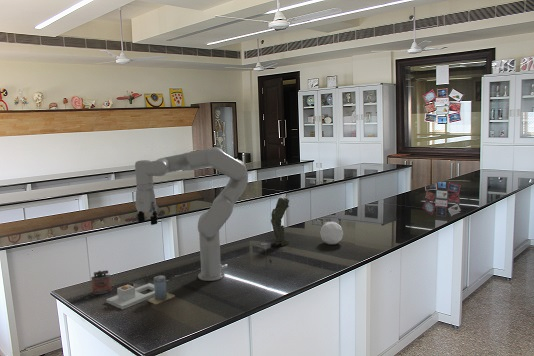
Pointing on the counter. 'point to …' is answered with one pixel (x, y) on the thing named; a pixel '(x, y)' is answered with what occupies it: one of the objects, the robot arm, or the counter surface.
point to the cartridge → (160, 287)
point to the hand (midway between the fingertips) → (147, 222)
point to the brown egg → (125, 287)
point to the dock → (131, 296)
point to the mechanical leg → (279, 222)
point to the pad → (160, 300)
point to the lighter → (101, 282)
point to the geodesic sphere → (331, 232)
